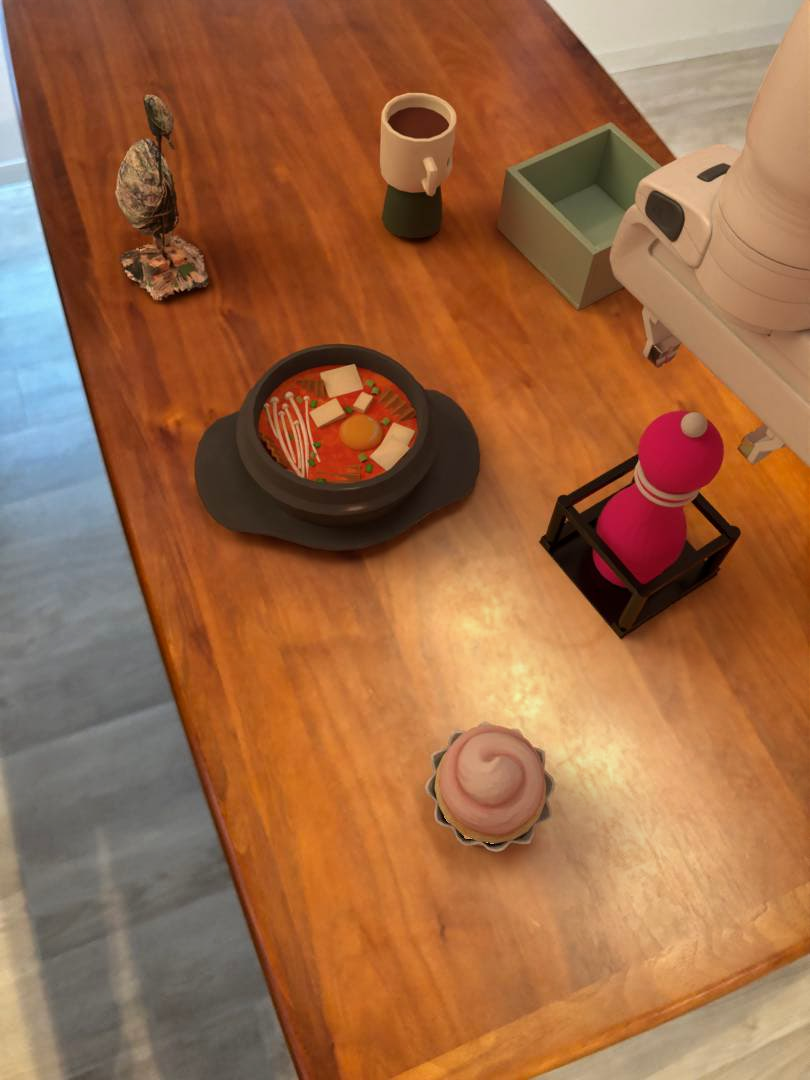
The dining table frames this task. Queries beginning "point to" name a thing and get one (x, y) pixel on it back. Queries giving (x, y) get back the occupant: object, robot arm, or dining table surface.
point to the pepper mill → (659, 495)
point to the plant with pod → (156, 213)
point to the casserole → (336, 452)
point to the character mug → (415, 162)
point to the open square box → (574, 209)
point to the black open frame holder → (611, 601)
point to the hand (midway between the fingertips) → (703, 404)
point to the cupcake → (490, 786)
